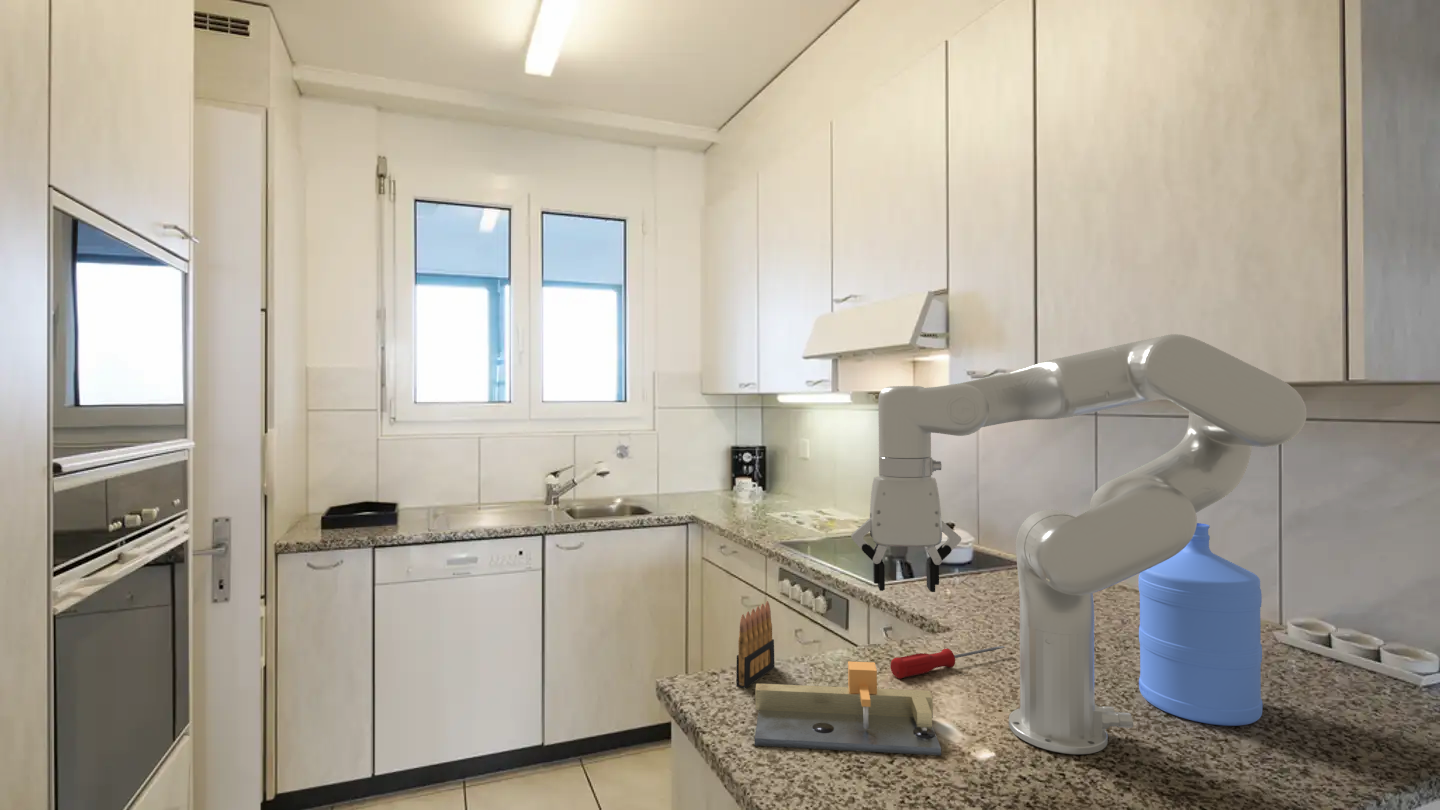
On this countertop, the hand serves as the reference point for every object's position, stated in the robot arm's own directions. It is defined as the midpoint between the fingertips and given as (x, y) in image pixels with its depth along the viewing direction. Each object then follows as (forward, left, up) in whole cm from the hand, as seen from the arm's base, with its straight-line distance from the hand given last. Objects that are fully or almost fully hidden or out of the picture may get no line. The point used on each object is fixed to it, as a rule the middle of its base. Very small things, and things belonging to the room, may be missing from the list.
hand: (905, 588), depth 102 cm
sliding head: (+7, +3, -18) cm, 20 cm away
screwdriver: (-11, -22, -20) cm, 32 cm away
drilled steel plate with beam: (+10, +3, -20) cm, 22 cm away
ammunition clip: (+24, -14, -20) cm, 34 cm away
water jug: (-45, -10, -20) cm, 51 cm away
